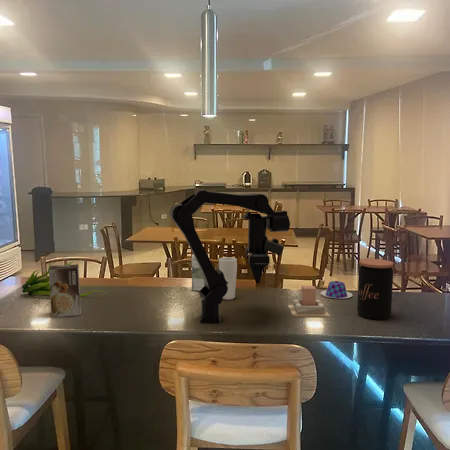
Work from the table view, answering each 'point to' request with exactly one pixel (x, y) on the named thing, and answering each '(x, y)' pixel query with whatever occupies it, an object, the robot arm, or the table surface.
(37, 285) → the decorative plant
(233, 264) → the white tumbler
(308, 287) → the bracket block
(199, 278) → the syrup box
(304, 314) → the post socket
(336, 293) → the pudding
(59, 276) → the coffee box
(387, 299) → the coffee jar
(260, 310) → the table surface
